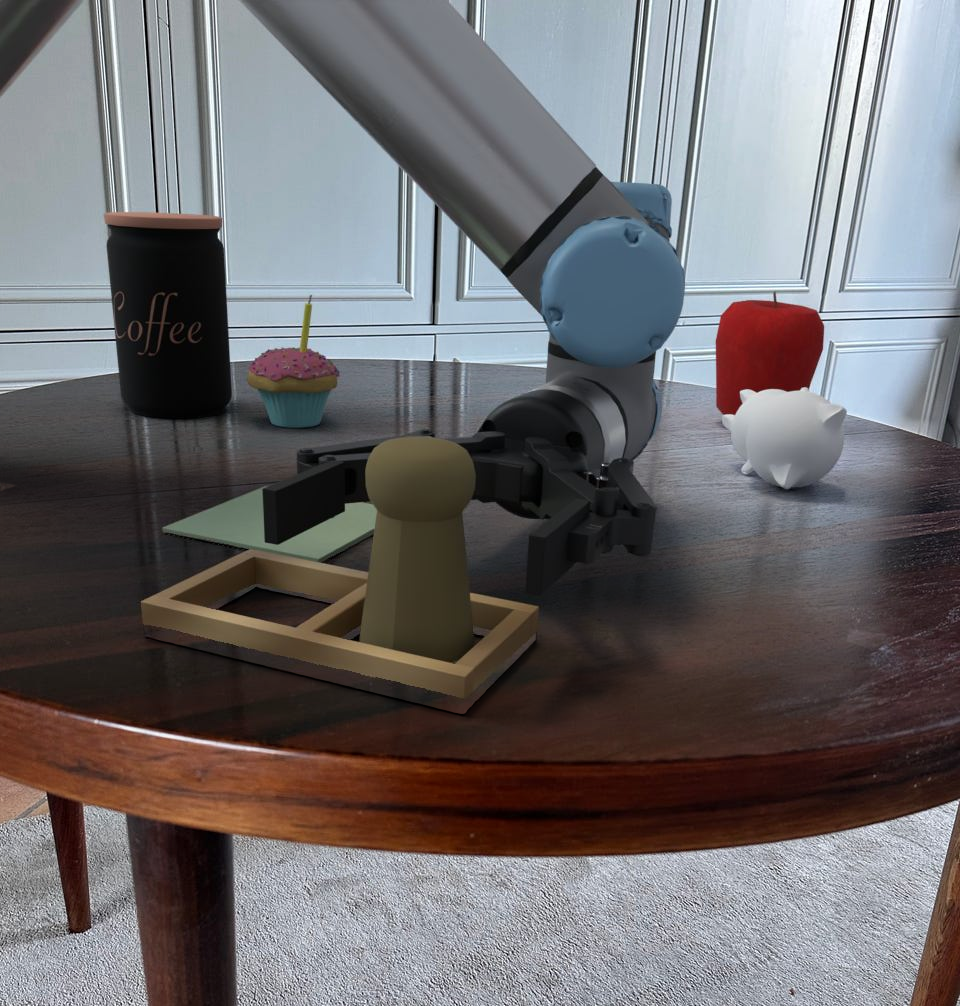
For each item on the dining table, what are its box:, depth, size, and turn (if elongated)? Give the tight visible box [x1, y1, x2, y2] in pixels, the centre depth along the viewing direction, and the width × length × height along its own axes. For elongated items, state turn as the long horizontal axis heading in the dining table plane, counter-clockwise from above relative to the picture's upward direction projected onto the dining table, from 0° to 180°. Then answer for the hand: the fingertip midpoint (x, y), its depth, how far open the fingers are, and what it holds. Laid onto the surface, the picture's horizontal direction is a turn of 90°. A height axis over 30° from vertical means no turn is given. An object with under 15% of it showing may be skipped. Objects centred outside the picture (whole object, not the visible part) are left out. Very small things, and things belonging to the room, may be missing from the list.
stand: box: [140, 549, 540, 698], centre depth 53 cm, size 18×10×2 cm, turn 67°
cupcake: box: [246, 294, 341, 429], centre depth 97 cm, size 9×8×12 cm
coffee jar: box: [103, 211, 233, 419], centre depth 99 cm, size 11×11×18 cm
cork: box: [358, 436, 476, 663], centre depth 50 cm, size 6×6×11 cm
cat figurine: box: [721, 387, 848, 490], centre depth 86 cm, size 9×11×12 cm
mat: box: [161, 485, 377, 563], centre depth 70 cm, size 12×12×1 cm
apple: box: [715, 291, 825, 415], centre depth 105 cm, size 11×10×14 cm
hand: (395, 540), depth 47 cm, fingers open, 13 cm apart
